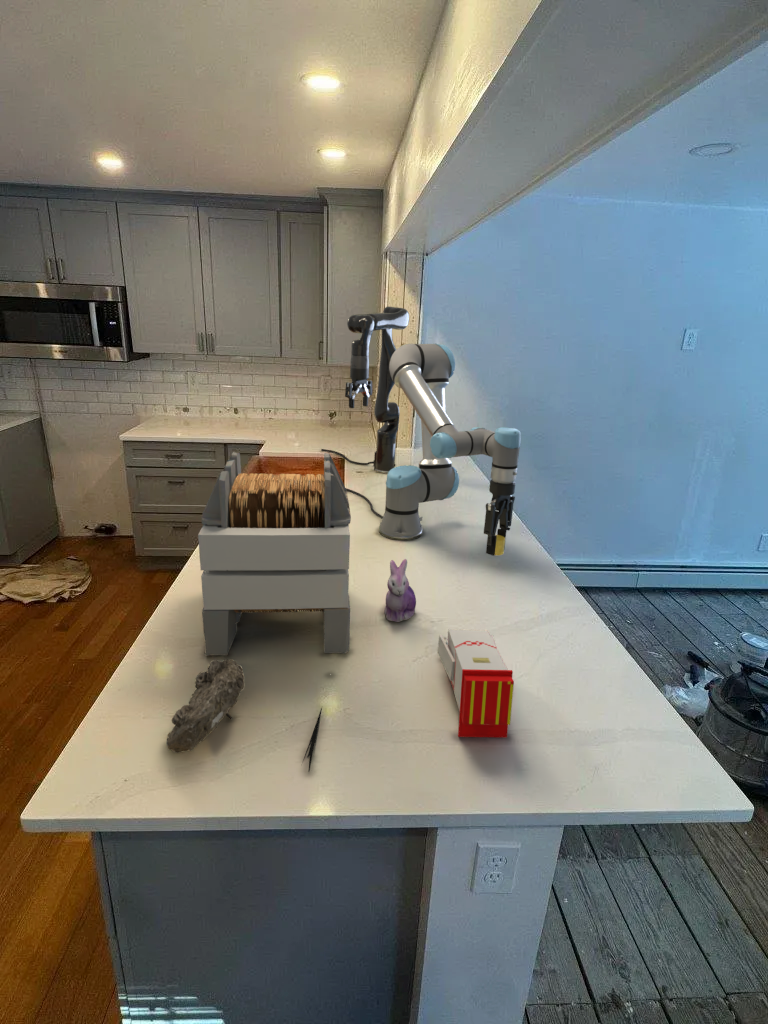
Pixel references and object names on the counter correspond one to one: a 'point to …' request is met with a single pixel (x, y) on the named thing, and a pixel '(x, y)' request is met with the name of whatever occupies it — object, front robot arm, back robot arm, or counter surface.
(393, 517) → the front robot arm
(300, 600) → the record crate
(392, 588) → the figurine
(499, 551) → the cylinder
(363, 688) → the counter surface
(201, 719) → the fossil
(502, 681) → the toy
